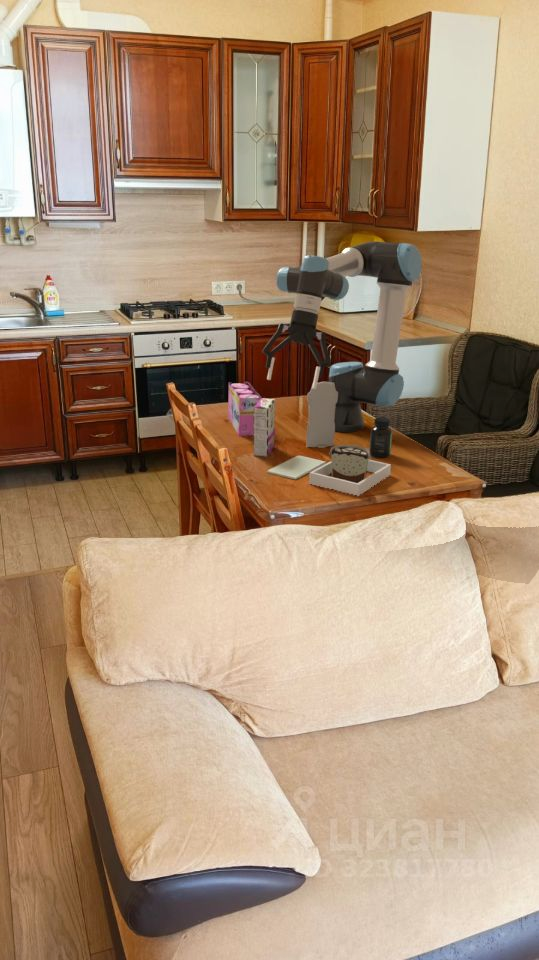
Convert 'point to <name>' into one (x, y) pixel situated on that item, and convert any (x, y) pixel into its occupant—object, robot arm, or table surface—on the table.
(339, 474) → the food container
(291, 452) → the table surface
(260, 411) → the candy bar box
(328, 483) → the bin
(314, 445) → the grey upright slab
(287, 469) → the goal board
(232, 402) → the gum box
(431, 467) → the table surface
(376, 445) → the supplement bottle
